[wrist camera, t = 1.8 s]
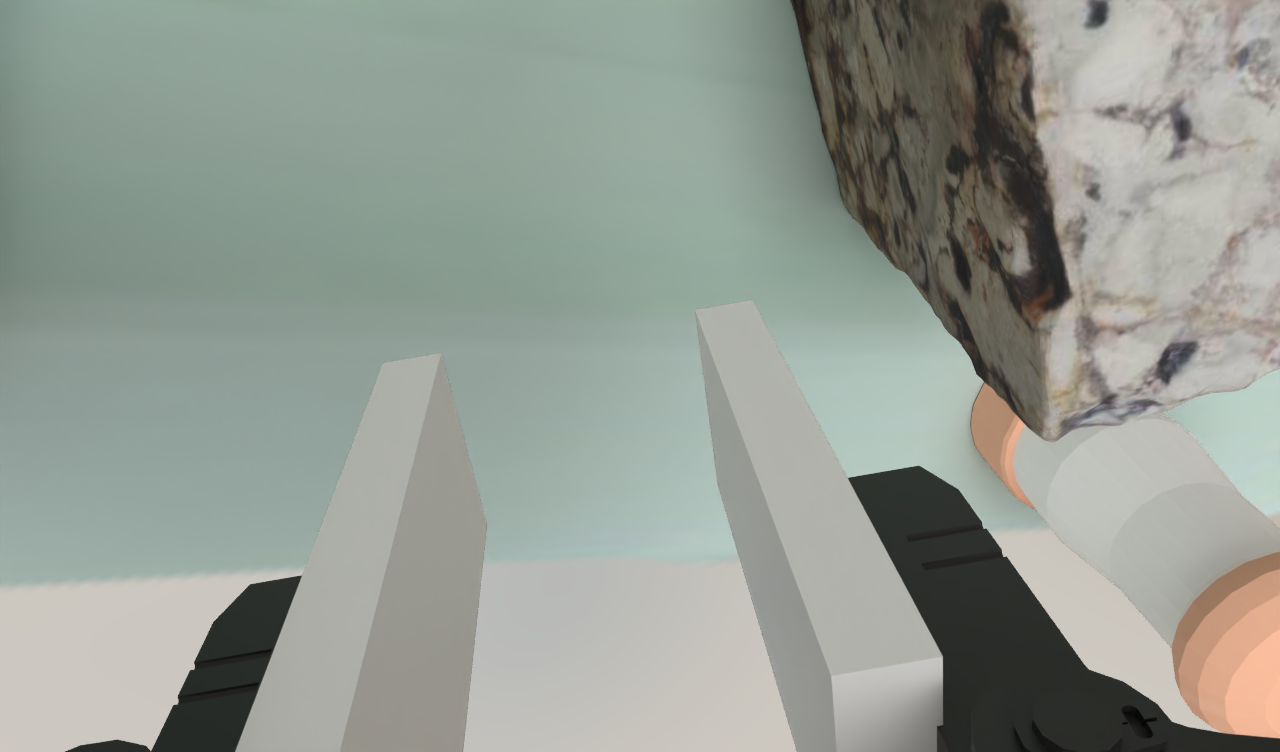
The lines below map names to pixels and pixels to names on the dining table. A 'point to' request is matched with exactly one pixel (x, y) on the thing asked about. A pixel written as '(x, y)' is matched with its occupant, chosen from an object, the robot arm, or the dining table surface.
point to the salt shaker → (1161, 547)
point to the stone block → (1068, 187)
